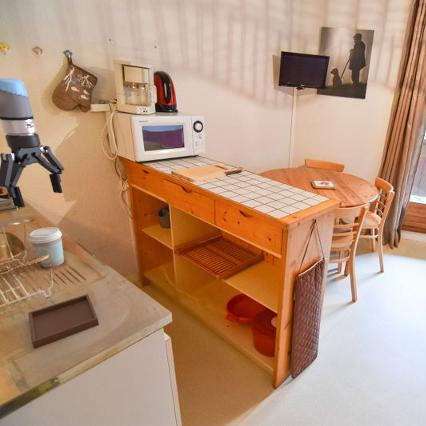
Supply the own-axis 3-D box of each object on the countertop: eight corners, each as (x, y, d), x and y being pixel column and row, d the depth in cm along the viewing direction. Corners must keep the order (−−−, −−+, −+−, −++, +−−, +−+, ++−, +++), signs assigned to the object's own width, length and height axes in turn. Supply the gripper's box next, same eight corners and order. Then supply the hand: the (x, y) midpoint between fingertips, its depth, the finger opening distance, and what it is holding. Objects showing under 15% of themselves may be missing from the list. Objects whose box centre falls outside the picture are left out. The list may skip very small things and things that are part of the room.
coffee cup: (31, 265, 106) (20, 234, 102) (58, 254, 114) (50, 224, 109) (47, 272, 104) (37, 240, 99) (74, 260, 111) (66, 229, 107)
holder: (30, 318, 85) (28, 312, 84) (89, 299, 94) (87, 293, 93) (34, 348, 76) (32, 342, 76) (99, 324, 85) (97, 318, 84)
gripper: (-12, 141, 84) (12, 215, 92) (67, 129, 107) (81, 188, 115) (-38, 139, 84) (-11, 212, 93) (47, 127, 107) (62, 186, 115)
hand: (40, 199), depth 104 cm, fingers open, 13 cm apart
